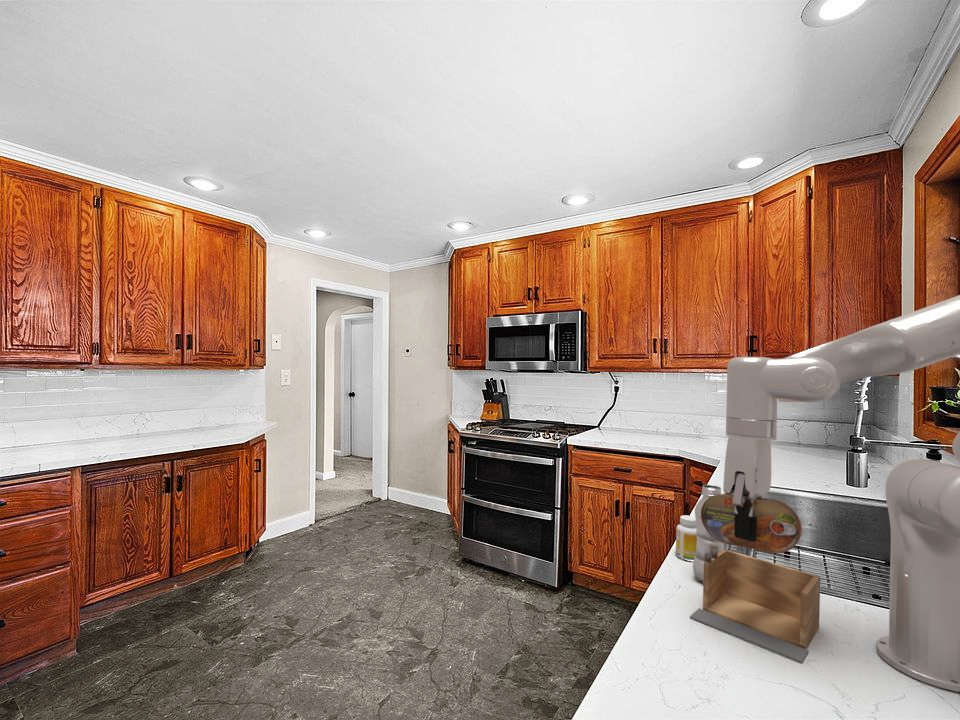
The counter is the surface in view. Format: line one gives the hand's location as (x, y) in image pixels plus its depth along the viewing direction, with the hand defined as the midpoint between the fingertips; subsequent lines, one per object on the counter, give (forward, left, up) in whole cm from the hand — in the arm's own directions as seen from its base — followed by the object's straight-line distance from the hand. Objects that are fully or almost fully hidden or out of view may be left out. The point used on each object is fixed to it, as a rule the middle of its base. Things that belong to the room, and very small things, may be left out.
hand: (748, 535), depth 79 cm
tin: (0, 0, -2) cm, 2 cm away
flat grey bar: (0, 0, -17) cm, 17 cm away
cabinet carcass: (0, -7, -17) cm, 18 cm away
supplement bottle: (+20, -26, -17) cm, 37 cm away
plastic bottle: (+12, -16, -17) cm, 27 cm away
